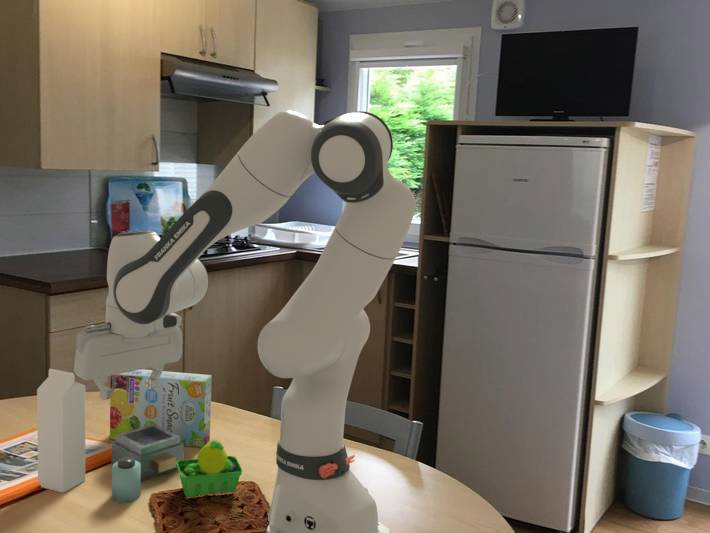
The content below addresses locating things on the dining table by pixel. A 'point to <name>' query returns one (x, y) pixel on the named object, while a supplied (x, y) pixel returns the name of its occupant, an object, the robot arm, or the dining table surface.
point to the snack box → (162, 404)
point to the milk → (61, 432)
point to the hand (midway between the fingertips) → (129, 393)
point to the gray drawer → (149, 450)
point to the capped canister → (126, 480)
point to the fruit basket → (209, 471)
